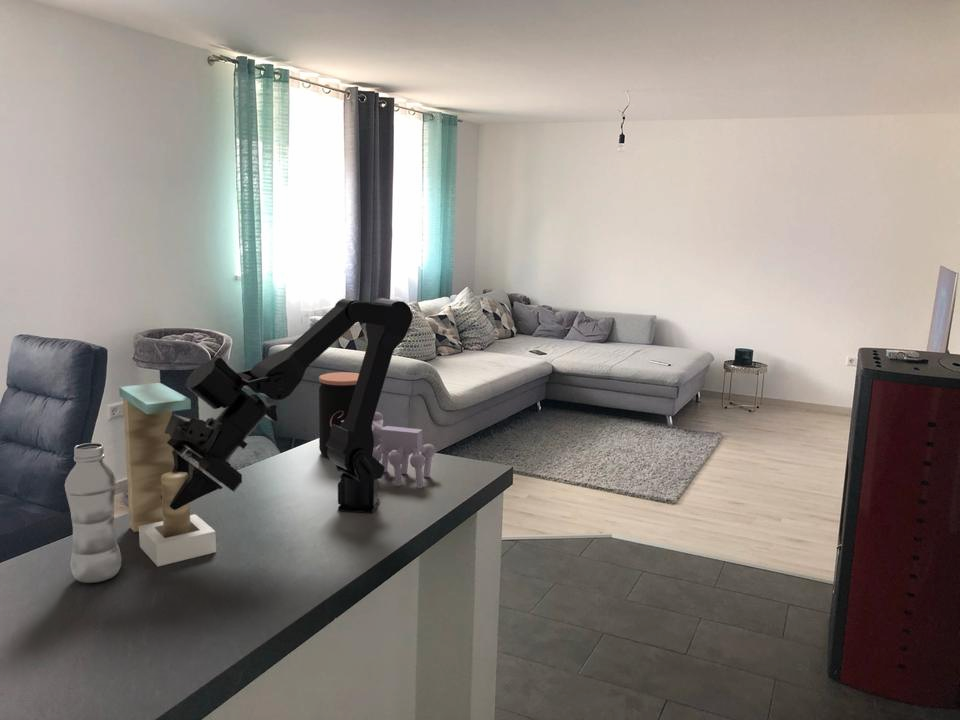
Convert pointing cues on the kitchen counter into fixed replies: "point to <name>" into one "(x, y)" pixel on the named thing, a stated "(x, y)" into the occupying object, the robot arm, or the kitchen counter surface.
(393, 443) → the toy sheep
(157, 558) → the socket
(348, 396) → the coffee jar
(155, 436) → the tall textured pillar
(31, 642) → the kitchen counter surface
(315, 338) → the robot arm
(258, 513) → the kitchen counter surface
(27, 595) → the kitchen counter surface
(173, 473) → the peg
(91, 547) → the plastic bottle
